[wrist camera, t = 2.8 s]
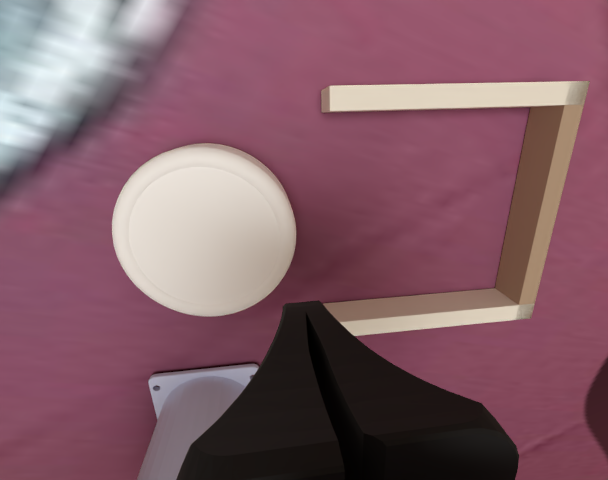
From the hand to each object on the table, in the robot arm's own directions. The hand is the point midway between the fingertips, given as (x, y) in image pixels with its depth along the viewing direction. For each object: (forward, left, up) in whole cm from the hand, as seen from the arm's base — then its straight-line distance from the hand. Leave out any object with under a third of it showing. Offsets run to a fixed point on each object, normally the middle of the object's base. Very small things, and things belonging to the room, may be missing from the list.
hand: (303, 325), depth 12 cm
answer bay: (+1, -10, -10) cm, 14 cm away
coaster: (+1, +4, -11) cm, 12 cm away
